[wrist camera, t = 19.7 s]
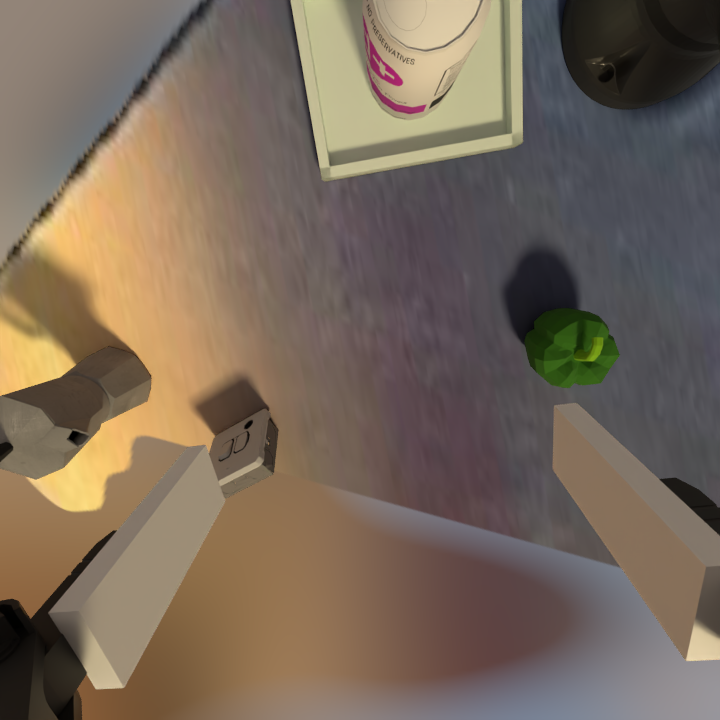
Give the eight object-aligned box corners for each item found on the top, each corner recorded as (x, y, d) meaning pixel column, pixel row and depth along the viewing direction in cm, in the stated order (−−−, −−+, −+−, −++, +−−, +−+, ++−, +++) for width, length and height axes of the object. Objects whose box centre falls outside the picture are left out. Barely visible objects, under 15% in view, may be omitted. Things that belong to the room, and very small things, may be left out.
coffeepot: (158, 343, 48) (41, 410, 32) (174, 408, 52) (75, 500, 35) (45, 346, 49) (-128, 412, 32) (68, 410, 53) (-79, 500, 36)
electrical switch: (267, 405, 51) (249, 449, 42) (290, 431, 53) (276, 479, 44) (214, 434, 53) (187, 482, 45) (238, 459, 55) (216, 509, 46)
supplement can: (383, 135, 38) (386, 87, 24) (356, 42, 36) (341, -73, 22) (461, 103, 37) (512, 32, 23) (439, 3, 34) (481, -145, 20)
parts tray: (511, -55, 33) (521, -75, 31) (514, 147, 39) (522, 142, 36) (293, -4, 35) (287, -20, 33) (325, 181, 41) (321, 179, 38)
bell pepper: (559, 376, 47) (604, 415, 38) (502, 351, 47) (533, 384, 37) (600, 317, 45) (659, 343, 35) (540, 289, 44) (584, 308, 34)
